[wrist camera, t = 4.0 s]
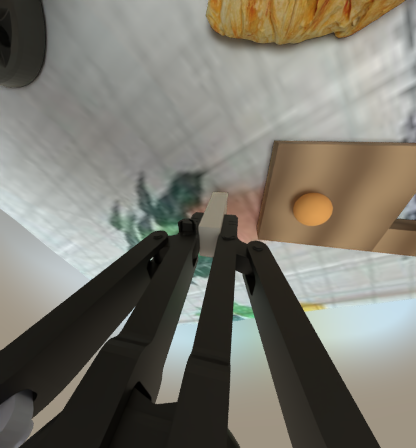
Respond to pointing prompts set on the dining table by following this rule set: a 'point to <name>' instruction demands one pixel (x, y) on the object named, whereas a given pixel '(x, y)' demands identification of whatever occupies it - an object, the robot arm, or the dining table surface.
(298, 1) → the croissant
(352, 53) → the dining table surface
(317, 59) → the dining table surface
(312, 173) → the wooden tray with slot
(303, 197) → the ball
